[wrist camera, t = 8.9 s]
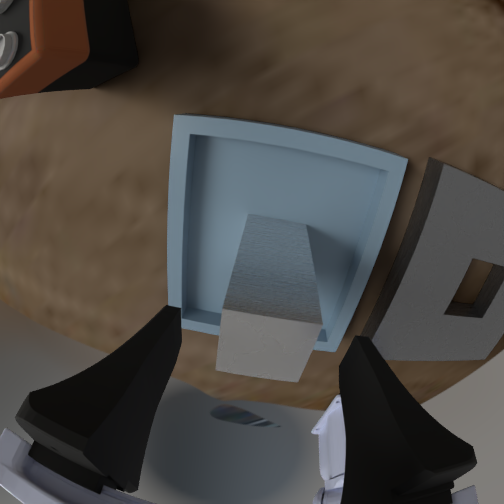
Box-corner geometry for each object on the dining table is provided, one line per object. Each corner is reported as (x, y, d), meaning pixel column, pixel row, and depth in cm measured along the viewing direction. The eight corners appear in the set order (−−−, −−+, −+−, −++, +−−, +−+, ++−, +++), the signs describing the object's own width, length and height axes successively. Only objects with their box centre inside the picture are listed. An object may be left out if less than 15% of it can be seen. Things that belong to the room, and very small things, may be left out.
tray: (332, 334, 23) (335, 351, 21) (176, 308, 23) (169, 325, 21) (395, 153, 15) (408, 159, 14) (185, 113, 16) (174, 114, 14)
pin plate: (478, 346, 23) (484, 359, 21) (357, 341, 23) (361, 358, 21) (546, 215, 15) (559, 224, 13) (429, 156, 15) (444, 163, 13)
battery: (127, -13, 11) (29, -58, 2) (142, 66, 14) (26, 53, 5) (77, 15, 12) (-28, 0, 3) (89, 91, 15) (-28, 108, 6)
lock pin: (293, 272, 19) (297, 382, 12) (240, 263, 20) (215, 370, 12) (305, 223, 18) (323, 324, 10) (248, 213, 18) (222, 308, 10)
